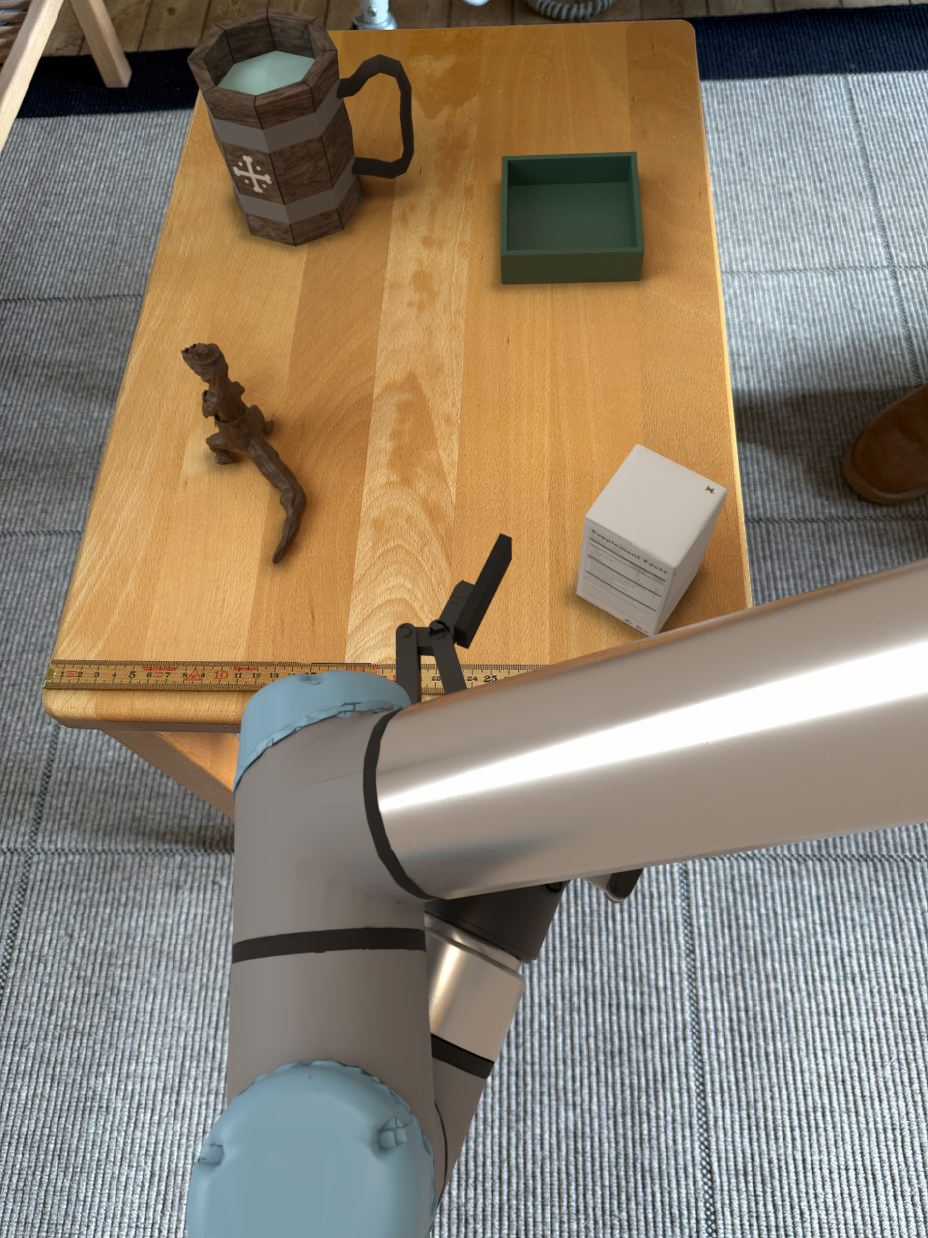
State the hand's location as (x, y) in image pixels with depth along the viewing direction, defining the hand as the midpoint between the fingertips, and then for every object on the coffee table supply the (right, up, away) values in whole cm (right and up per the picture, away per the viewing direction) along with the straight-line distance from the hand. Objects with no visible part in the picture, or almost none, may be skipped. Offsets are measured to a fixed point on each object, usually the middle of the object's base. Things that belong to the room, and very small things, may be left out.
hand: (613, 585), depth 51 cm
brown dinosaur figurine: (-27, +9, +26) cm, 39 cm away
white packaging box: (+5, +1, +20) cm, 21 cm away
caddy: (+2, +36, +36) cm, 51 cm away
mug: (-23, +42, +40) cm, 62 cm away
